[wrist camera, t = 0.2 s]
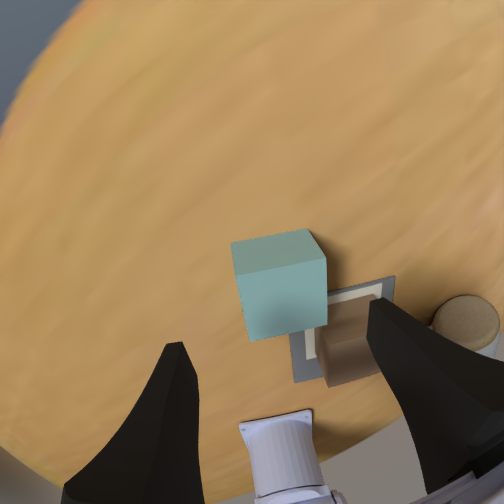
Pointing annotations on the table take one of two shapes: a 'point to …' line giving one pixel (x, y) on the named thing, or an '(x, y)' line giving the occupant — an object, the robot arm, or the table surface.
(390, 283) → the mat
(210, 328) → the table surface
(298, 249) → the teal block
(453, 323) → the ceramic mug
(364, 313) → the walnut block
